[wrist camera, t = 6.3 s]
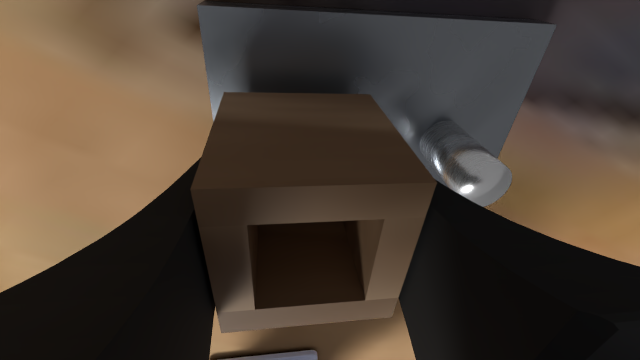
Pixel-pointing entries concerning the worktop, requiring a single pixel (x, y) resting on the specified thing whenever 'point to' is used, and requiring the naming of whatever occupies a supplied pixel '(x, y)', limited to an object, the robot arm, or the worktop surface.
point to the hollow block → (307, 209)
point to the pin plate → (390, 74)
